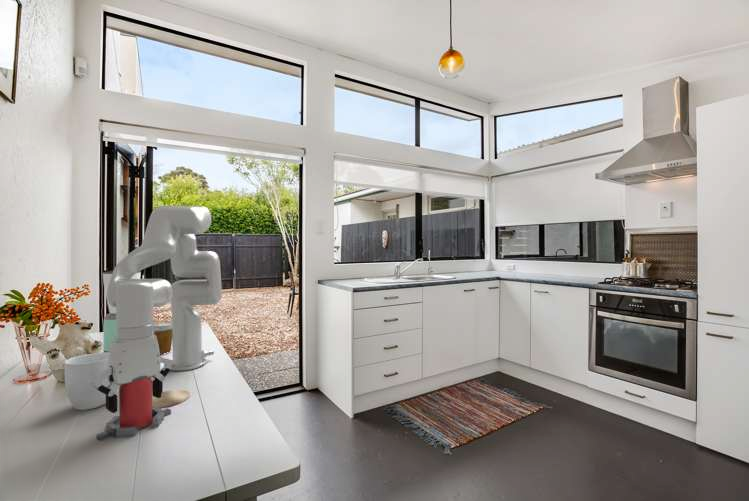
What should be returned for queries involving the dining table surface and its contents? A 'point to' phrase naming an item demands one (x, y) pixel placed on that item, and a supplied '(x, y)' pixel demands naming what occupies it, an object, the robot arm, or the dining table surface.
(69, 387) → the mug
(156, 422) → the collar
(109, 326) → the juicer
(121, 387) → the beer can
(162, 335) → the disposable coffee cup
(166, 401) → the disc
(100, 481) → the dining table surface
